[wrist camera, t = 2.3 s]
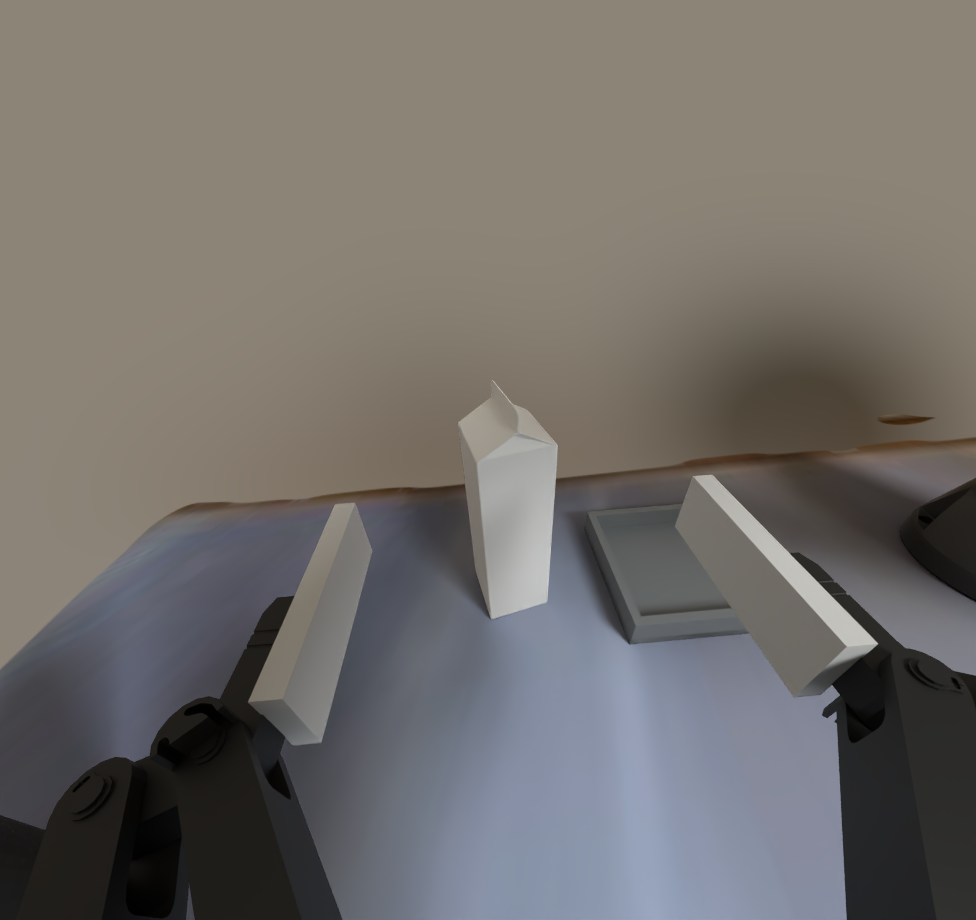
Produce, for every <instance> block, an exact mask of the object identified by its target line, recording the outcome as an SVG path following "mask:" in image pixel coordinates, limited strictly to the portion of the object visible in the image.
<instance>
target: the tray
mask: <svg viewBox="0 0 976 920" xmlns="http://www.w3.org/2000/svg"><path fill="white" fill-rule="evenodd" d="M682 505H683V504H672V505H660V506H648V507H637V508H625V509H613V510H602V511H590V512H587V516H586V523H585V532H586V535H587V537H588V540H589V542H590V545H591V547H592V550H593V552H594V555H595V557H596V560H597V563H598V565H599V568H600V570H601V573H602V575H603V578H604V580H605V583H606V585H607V588H608V591H609V593H610V596H611V598H612V601H613V603H614V606H615V608H616V611H617V613H618V616H619V618H620V621H621V624H622V626H623V629H624V631H625V634H626V636H627V639H628V641H629V644H638V643H649V642H660V641H671V640H681V639H692V638H703V637H714V636H724V635H735V634H746V633H749V632H748V631H747V629H746V628H745V626H744V625H743V624H742V622H741V621H740V619H739V618H738V616H737V615H736V614H735V612H734V611H733V609H732V608H731V606H730V605H729V604H728V602H727V601H726V599H725V598H724V596H723V595H722V593H721V592H720V591H719V589H718V588H717V586H716V585H715V583H714V582H713V581H712V579H711V578H710V576H709V575H708V573H707V572H706V571H705V569H704V568H703V566H702V565H701V563H700V562H699V560H698V559H697V558H696V556H695V555H694V553H693V552H692V550H691V549H690V548H689V546H688V545H687V543H686V542H685V540H684V539H683V538H682V536H681V535H680V533H679V532H678V530H677V529H676V527H675V524H676V521H677V519H678V516H679V513H680V510H681V507H682Z"/></svg>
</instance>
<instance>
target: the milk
mask: <svg viewBox="0 0 976 920" xmlns="http://www.w3.org/2000/svg"><path fill="white" fill-rule="evenodd" d="M458 429H459V437H460V445H461V454H462V462H463V470H464V478H465V487H466V495H467V503H468V512H469V520H470V528H471V537H472V545H473V553H474V562H475V570H476V574H477V577H478V580H479V584H480V587H481V590H482V593H483V596H484V599H485V602H486V606H487V609H488V612H489V615H490V618H491V619H495V618H498V617H501V616H505V615H508V614H511V613H514V612H518V611H521V610H524V609H527V608H530V607H534V606H537V605H540V604H543V603H546V602H547V597H548V582H549V568H550V554H551V540H552V525H553V511H554V497H555V483H556V468H557V454H558V453H557V452H558V445H557V444H556V442H555V441H554V440H553V439H552V438H551V437H550V436H549V435H548V433H547V432H546V431H545V430H544V429H543V428H542V426H541V425H540V424H539V423H538V422H537V421H536V419H535V418H534V417H533V416H532V415H531V414H530V413H529V412H528V410H527V409H524V408H522V407H519V406H516V405H514V404H512V403H511V401H510V400H509V399H508V398H507V397H506V395H505V394H504V393H503V392H502V390H501V389H500V388H499V387H498V385H497V384H496V383H495V382H494V381H493V380H491V398H489V399H488V400H487V401H485V402H484V403H483V404H481V405H480V406H479V407H477V408H476V409H475V410H474V411H472V412H471V413H470V414H468V415H467V416H466V417H465V418H463V419H462V420H461V421H459V422H458Z"/></svg>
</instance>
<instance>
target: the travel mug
mask: <svg viewBox="0 0 976 920" xmlns="http://www.w3.org/2000/svg"><path fill="white" fill-rule="evenodd" d="M44 833H45V830H42V829H39V828H37V827H34V826H31V825H28V824H25V823H22V822H19V821H16V820H13V819H10V818H7V817H4V816H1V815H0V920H16V917H17V914H18V911H19V908H20V905H21V902H22V899H23V896H24V893H25V890H26V887H27V884H28V881H29V878H30V875H31V872H32V869H33V866H34V863H35V860H36V857H37V854H38V851H39V848H40V845H41V842H42V839H43V836H44Z"/></svg>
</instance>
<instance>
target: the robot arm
mask: <svg viewBox="0 0 976 920" xmlns="http://www.w3.org/2000/svg"><path fill="white" fill-rule="evenodd" d="M675 527H676V529H677V530H678V532H679V533H680V535H681V536H682V538H683V539H684V540H685V542H686V543H687V545H688V546H689V548H690V549H691V550H692V552H693V553H694V555H695V556H696V558H697V559H698V560H699V562H700V563H701V565H702V566H703V568H704V569H705V571H706V572H707V573H708V575H709V576H710V578H711V579H712V581H713V582H714V583H715V585H716V586H717V588H718V589H719V591H720V592H721V593H722V595H723V596H724V598H725V599H726V601H727V602H728V604H729V605H730V606H731V608H732V609H733V611H734V612H735V614H736V615H737V616H738V618H739V619H740V621H741V622H742V624H743V625H744V626H745V628H746V629H747V631H748V632H749V634H750V635H751V637H752V638H753V639H754V641H755V642H756V644H757V645H758V647H759V648H760V649H761V651H762V652H763V654H764V655H765V657H766V658H767V659H768V661H769V662H770V664H771V665H772V667H773V668H774V670H775V671H776V672H777V674H778V675H779V677H780V678H781V680H782V681H783V682H784V684H785V685H786V687H787V688H788V690H789V691H790V692H791V694H792V695H793V697H804V696H814V695H821V694H822V693H823V692H824V691H825V690H827V689H828V688H829V687H830V686H831V685H833V686H834V688H835V689H836V690H837V692H838V693H839V694H840V696H839V697H838V698H836V699H835V700H834V701H833V702H832V703H830V704H829V705H828V706H827V707H826V708H824V710H823V714H822V716H824V717H826V718H828V717H829V716H831V715H832V714H833V713H834V712H837V719H836V720H835V722H836V723H837V732H838V752H839V772H840V792H841V812H842V832H843V852H844V872H845V892H846V912H847V920H976V676H974V675H970V674H965V673H960V672H956V671H953V670H951V669H950V668H949V667H947V666H946V665H944V664H943V663H942V662H940V661H939V660H937V659H935V658H933V657H931V656H929V655H927V654H925V653H923V652H919V651H916V650H913V649H906V648H904V647H903V646H902V645H901V644H900V643H899V642H897V641H896V640H895V639H894V638H893V637H892V636H891V635H890V634H889V633H888V632H887V631H886V630H885V629H884V628H883V627H882V626H881V625H880V624H879V623H878V622H877V621H876V620H875V619H874V618H872V617H871V616H870V615H869V614H868V613H867V612H866V611H865V610H864V609H863V608H862V607H861V606H860V605H859V604H858V603H857V602H856V601H855V600H854V599H853V598H852V597H851V596H850V595H847V594H846V591H845V590H844V589H843V588H841V587H840V586H839V585H838V584H837V583H834V582H833V579H832V578H831V577H830V576H829V575H828V574H827V573H826V572H825V571H824V570H823V569H822V568H821V567H820V566H819V565H818V564H816V563H814V562H813V561H811V560H810V559H808V558H806V557H805V556H803V555H802V554H800V553H789V552H788V551H787V550H786V549H785V548H784V547H783V546H782V545H781V544H780V543H779V542H778V541H777V540H776V539H775V538H774V537H773V536H772V535H771V534H770V533H769V532H768V531H767V530H766V529H765V528H764V527H763V526H762V525H761V524H760V523H759V522H758V521H757V520H756V519H755V518H754V517H753V516H752V515H751V514H750V513H749V512H748V511H747V510H746V509H745V508H744V507H743V506H742V505H741V504H740V503H739V502H738V501H737V500H736V499H735V498H734V497H733V496H732V495H731V493H730V492H729V491H728V490H727V489H726V488H725V487H724V486H723V485H722V484H721V483H720V482H719V481H718V480H717V479H716V478H715V477H714V476H713V475H701V476H693V477H692V480H691V482H690V485H689V488H688V491H687V494H686V496H685V499H684V502H683V505H682V507H681V510H680V513H679V516H678V519H677V521H676V524H675ZM900 533H901V538H902V540H903V542H904V544H905V546H906V547H907V549H908V550H909V551H910V552H911V554H912V555H913V556H914V557H915V558H916V559H917V560H918V561H919V562H920V563H921V564H922V565H924V566H925V567H926V568H927V569H928V570H930V571H931V572H932V573H933V574H935V575H936V576H938V577H939V578H940V579H942V580H943V581H945V582H946V583H948V584H949V585H951V586H952V587H954V588H956V589H957V590H959V591H961V592H962V593H964V594H966V595H968V596H969V597H971V598H973V599H975V600H976V478H975V479H973V480H971V481H969V482H967V483H965V484H963V485H961V486H959V487H957V488H955V489H953V490H951V491H949V492H947V493H945V494H943V495H941V496H939V497H937V498H935V499H933V500H931V501H929V502H927V503H925V504H923V505H922V506H920V507H918V508H917V509H916V510H915V511H914V512H913V513H912V514H911V515H910V516H909V517H908V518H907V520H906V521H905V522H904V523H903V524H902V526H901V530H900ZM371 554H372V549H371V546H370V543H369V540H368V537H367V535H366V532H365V529H364V526H363V523H362V520H361V518H360V515H359V512H358V509H357V506H356V503H345V504H335V505H334V508H333V510H332V512H331V515H330V517H329V519H328V521H327V524H326V526H325V528H324V530H323V533H322V535H321V537H320V540H319V542H318V544H317V546H316V549H315V551H314V553H313V555H312V558H311V560H310V562H309V565H308V567H307V569H306V571H305V574H304V576H303V578H302V580H301V583H300V585H299V587H298V590H297V592H296V594H295V596H291V597H279V598H276V599H275V601H274V602H273V603H272V604H271V605H270V606H269V607H268V608H267V609H266V611H265V612H264V613H263V614H262V616H261V618H260V620H259V622H258V624H257V626H256V628H255V630H254V634H253V635H252V636H251V638H250V640H249V642H248V644H247V649H245V650H244V652H243V654H242V656H241V658H240V660H239V662H238V664H237V666H236V668H235V670H234V672H233V674H232V676H231V678H230V680H229V682H228V684H227V686H226V688H225V690H224V692H223V694H222V696H221V698H220V700H219V699H216V698H213V697H204V698H199V699H196V700H194V701H192V702H190V703H188V704H186V705H184V706H183V707H181V708H180V709H179V710H178V711H177V712H175V713H174V714H173V715H172V716H171V717H170V718H169V719H168V720H167V721H166V723H165V724H164V725H163V726H162V727H161V729H160V730H159V731H158V733H157V735H156V737H155V739H154V741H153V743H152V745H151V751H150V756H148V757H145V758H143V759H141V760H139V761H136V762H133V761H131V760H129V759H127V758H120V757H114V758H111V759H108V760H106V761H103V762H101V763H99V764H97V765H96V766H94V767H93V768H91V769H90V770H88V771H87V772H85V773H84V774H83V775H82V776H81V777H80V778H79V779H78V780H77V781H76V782H74V783H73V784H72V785H71V786H70V787H69V789H68V790H67V791H66V793H65V794H64V795H63V796H62V798H61V799H60V800H59V802H58V803H57V805H56V807H55V809H54V811H53V813H52V815H51V817H50V819H49V821H48V824H47V827H46V830H45V833H44V836H43V839H42V842H41V845H40V848H39V851H38V854H37V857H36V860H35V863H34V866H33V869H32V872H31V875H30V878H29V881H28V884H27V887H26V890H25V893H24V896H23V899H22V902H21V905H20V908H19V911H18V914H17V917H16V920H186V912H187V900H188V889H189V884H190V891H191V897H192V904H193V910H194V917H195V920H342V918H341V915H340V912H339V909H338V907H337V904H336V901H335V899H334V896H333V893H332V890H331V888H330V885H329V882H328V880H327V877H326V874H325V872H324V869H323V866H322V863H321V861H320V858H319V855H318V853H317V850H316V847H315V845H314V842H313V839H312V836H311V834H310V831H309V828H308V826H307V823H306V820H305V818H304V815H303V812H302V809H301V807H300V804H299V801H298V799H297V796H296V793H295V791H294V788H293V785H292V782H291V780H290V777H289V774H288V772H287V769H286V766H285V764H284V761H283V758H282V757H281V755H280V751H281V748H282V745H283V742H284V739H285V738H286V739H287V740H288V741H289V742H290V743H291V744H292V745H293V746H294V745H304V744H314V743H322V739H323V735H324V731H325V728H326V724H327V720H328V716H329V713H330V709H331V705H332V701H333V697H334V694H335V690H336V686H337V682H338V679H339V675H340V671H341V667H342V664H343V660H344V656H345V652H346V648H347V645H348V641H349V637H350V633H351V630H352V626H353V622H354V618H355V615H356V611H357V607H358V603H359V600H360V596H361V592H362V588H363V584H364V581H365V577H366V573H367V569H368V566H369V562H370V558H371Z"/></svg>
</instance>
